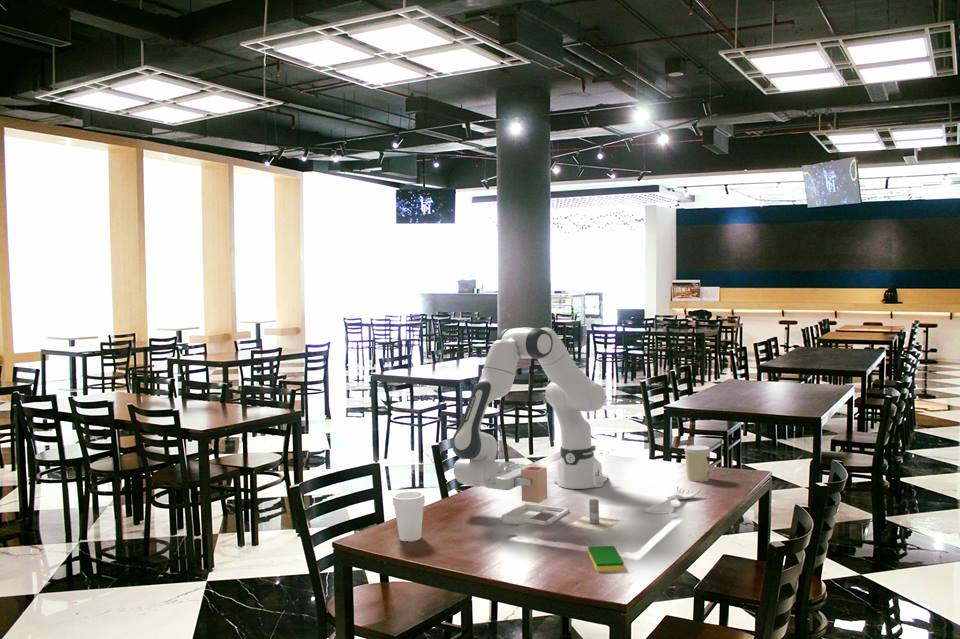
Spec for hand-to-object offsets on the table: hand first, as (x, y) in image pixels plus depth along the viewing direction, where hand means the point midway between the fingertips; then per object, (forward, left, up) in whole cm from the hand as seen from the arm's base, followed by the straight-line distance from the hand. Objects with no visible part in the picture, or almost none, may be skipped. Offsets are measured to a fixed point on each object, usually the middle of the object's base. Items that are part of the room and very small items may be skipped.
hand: (536, 479), depth 245 cm
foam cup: (+32, -27, -13) cm, 44 cm away
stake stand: (0, +19, -13) cm, 23 cm away
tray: (0, -1, -13) cm, 13 cm away
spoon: (-32, +33, -13) cm, 48 cm away
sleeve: (0, -1, -6) cm, 7 cm away
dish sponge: (+26, +33, -14) cm, 44 cm away
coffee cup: (-71, +31, -13) cm, 79 cm away
